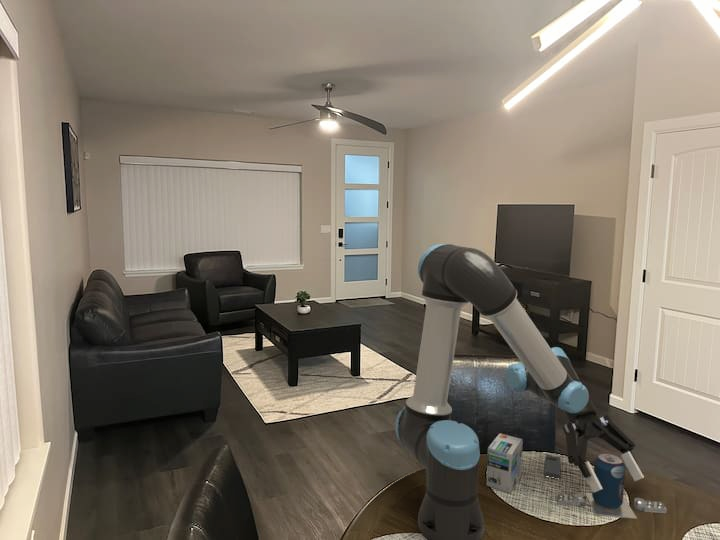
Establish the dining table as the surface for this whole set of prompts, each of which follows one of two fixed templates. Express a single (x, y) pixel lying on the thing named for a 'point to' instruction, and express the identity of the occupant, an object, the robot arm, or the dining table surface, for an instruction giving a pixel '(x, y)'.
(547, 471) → the bracket
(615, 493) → the soda can
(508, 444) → the light bulb box
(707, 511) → the dining table surface
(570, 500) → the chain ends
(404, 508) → the dining table surface
